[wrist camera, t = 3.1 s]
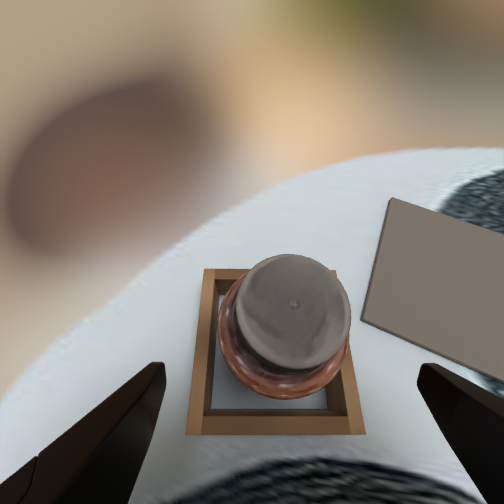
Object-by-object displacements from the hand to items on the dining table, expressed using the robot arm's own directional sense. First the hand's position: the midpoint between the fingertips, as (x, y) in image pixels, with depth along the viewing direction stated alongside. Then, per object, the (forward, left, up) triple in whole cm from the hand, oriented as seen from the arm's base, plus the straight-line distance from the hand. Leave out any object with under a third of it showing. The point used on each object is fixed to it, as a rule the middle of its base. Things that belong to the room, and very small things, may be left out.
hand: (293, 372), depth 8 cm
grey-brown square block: (+14, -12, -10) cm, 21 cm away
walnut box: (+2, +1, -10) cm, 10 cm away
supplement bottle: (+2, +1, -10) cm, 10 cm away
